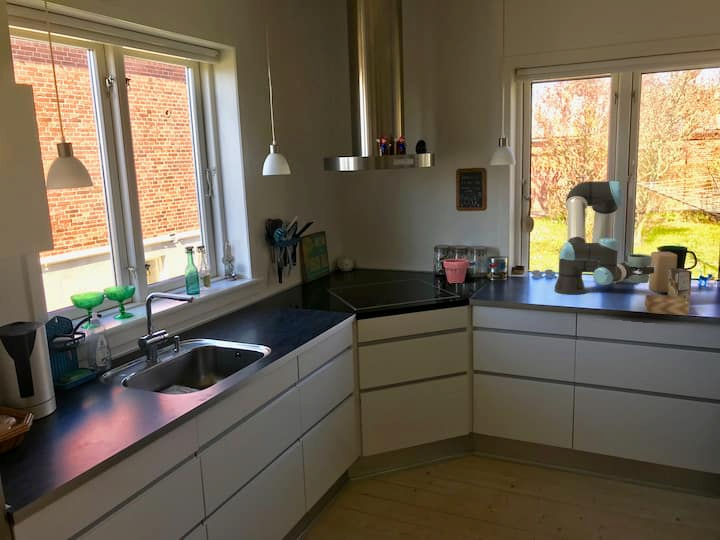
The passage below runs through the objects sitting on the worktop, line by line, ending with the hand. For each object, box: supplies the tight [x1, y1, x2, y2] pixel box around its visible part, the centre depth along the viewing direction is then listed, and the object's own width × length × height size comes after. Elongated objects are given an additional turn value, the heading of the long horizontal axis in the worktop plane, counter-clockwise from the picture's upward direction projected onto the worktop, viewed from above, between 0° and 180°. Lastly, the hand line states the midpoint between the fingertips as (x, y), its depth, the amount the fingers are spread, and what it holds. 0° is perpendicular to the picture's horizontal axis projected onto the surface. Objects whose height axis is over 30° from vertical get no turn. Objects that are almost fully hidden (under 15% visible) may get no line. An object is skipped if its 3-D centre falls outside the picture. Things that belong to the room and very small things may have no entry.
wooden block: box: [648, 251, 678, 294], centre depth 311 cm, size 10×10×20 cm
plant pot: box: [443, 258, 469, 284], centre depth 345 cm, size 14×14×13 cm
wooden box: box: [644, 294, 690, 316], centre depth 273 cm, size 16×16×5 cm
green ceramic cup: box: [627, 253, 652, 284], centre depth 274 cm, size 10×10×12 cm
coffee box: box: [666, 267, 693, 304], centre depth 285 cm, size 9×6×16 cm
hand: (643, 266), depth 277 cm, fingers closed on green ceramic cup, 9 cm apart
